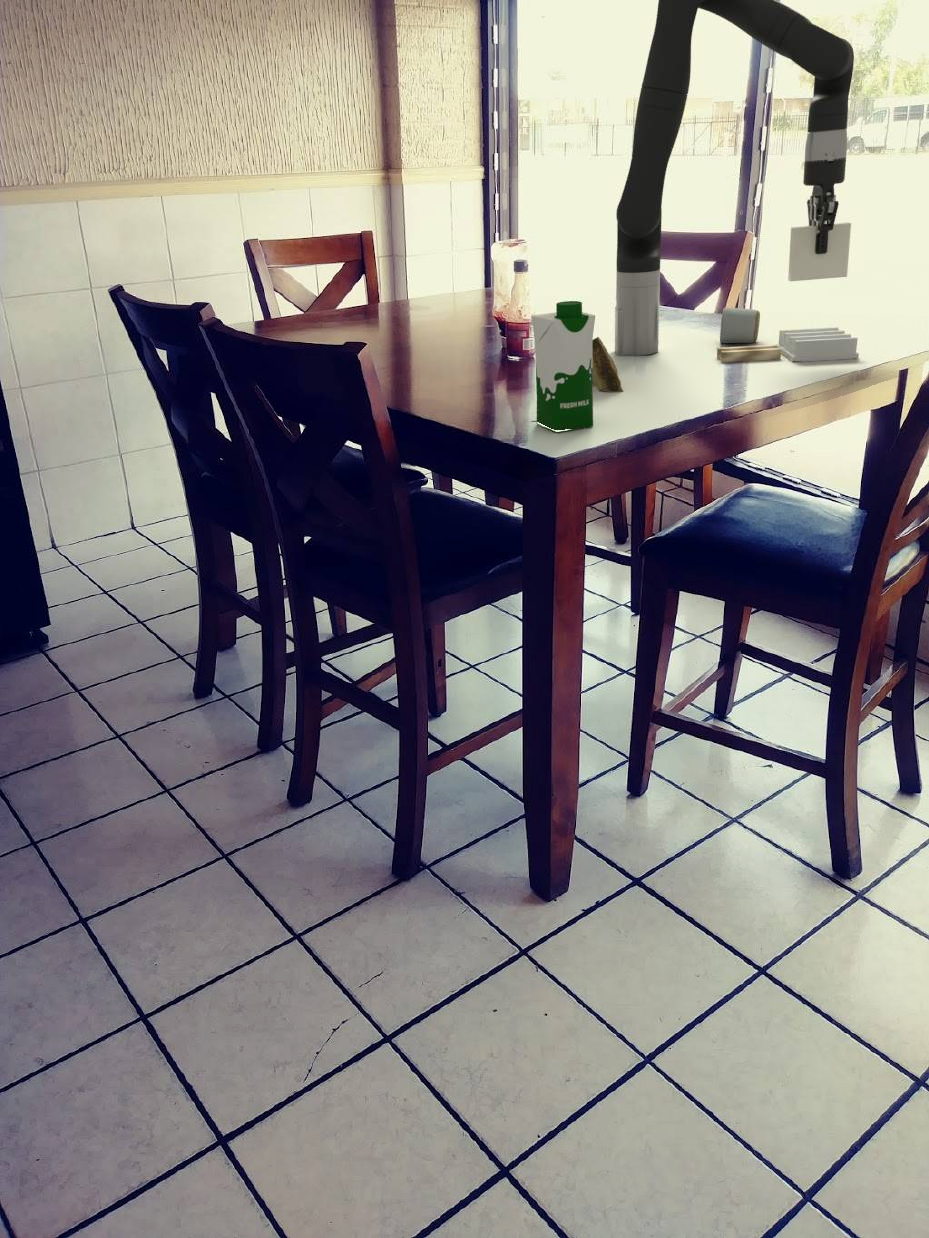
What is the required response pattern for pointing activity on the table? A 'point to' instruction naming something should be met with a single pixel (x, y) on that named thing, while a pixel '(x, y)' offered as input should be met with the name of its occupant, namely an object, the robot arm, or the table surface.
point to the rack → (817, 344)
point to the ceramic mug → (739, 325)
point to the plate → (818, 265)
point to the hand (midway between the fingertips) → (819, 252)
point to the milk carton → (564, 366)
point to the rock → (604, 368)
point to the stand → (748, 353)
